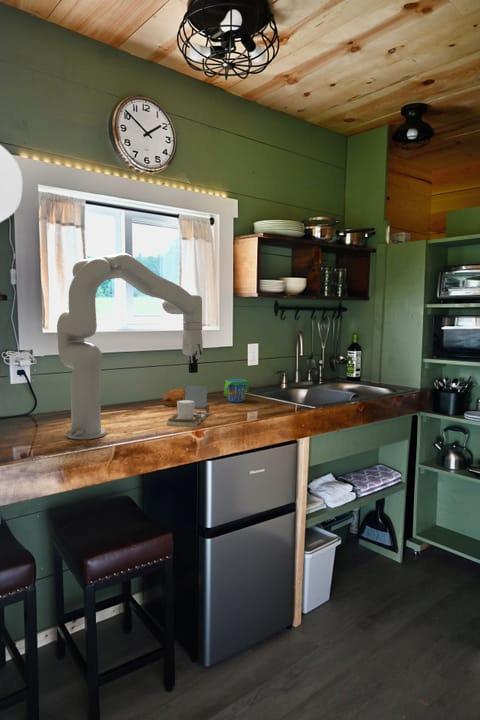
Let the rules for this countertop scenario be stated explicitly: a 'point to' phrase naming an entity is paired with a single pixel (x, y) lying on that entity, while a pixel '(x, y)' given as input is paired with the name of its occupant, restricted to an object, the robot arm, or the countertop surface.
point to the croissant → (174, 397)
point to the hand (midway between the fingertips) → (193, 372)
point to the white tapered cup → (185, 409)
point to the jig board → (187, 422)
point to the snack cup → (236, 389)
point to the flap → (197, 396)
